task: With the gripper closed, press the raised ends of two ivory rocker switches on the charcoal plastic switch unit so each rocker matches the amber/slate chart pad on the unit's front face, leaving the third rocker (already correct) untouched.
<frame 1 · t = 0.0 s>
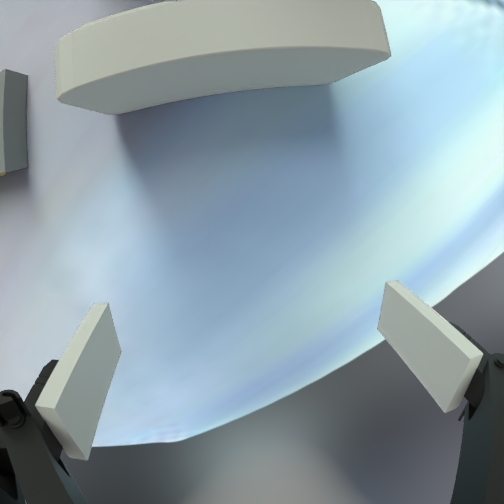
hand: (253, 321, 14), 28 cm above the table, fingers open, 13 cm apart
rounded white slab: (218, 75, 35), on the table
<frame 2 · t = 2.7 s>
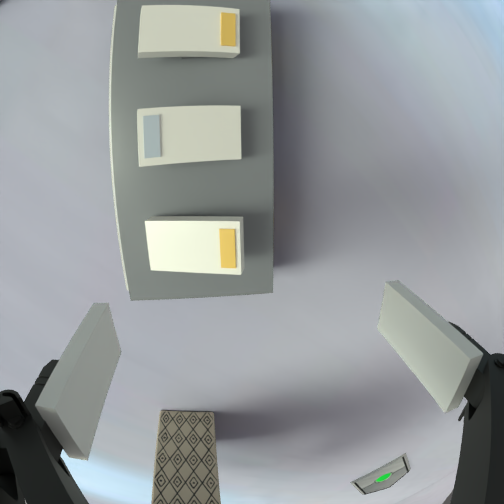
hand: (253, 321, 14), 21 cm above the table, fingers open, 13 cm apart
lamp: (188, 425, 44), on the table
rocker a: (194, 244, 26), point 8 cm above the table, hinge at -15.0°
rocker c: (189, 30, 20), point 8 cm above the table, hinge at 15.0°
rocker b: (189, 134, 23), point 8 cm above the table, hinge at 15.0°
security device: (383, 476, 63), on the table
switch unit: (194, 137, 30), on the table
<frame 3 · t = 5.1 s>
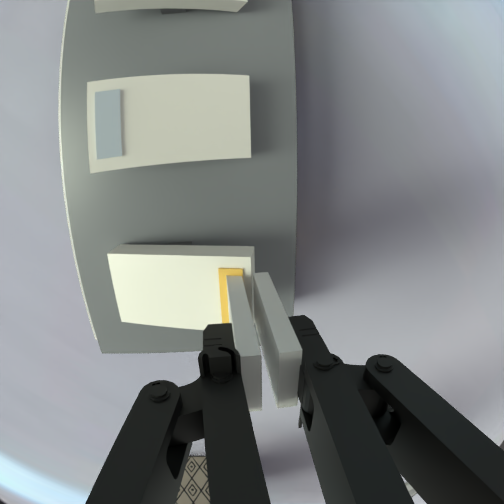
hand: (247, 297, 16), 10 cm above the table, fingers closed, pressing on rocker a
lamp: (186, 468, 35), on the table
rocker a: (181, 288, 17), point 8 cm above the table, hinge at -14.6°, touching gripper
rocker b: (168, 119, 14), point 8 cm above the table, hinge at 15.0°
security device: (395, 496, 55), on the table
switch unit: (181, 128, 21), on the table
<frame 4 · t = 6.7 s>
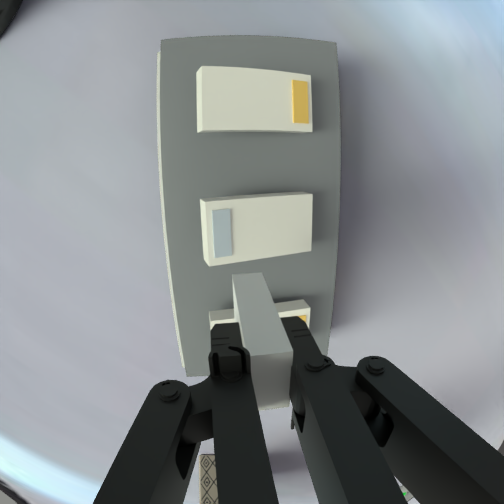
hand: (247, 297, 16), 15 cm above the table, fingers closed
lamp: (225, 465, 43), on the table
rocker a: (260, 333, 25), point 8 cm above the table, hinge at 6.4°
rocker c: (256, 100, 20), point 8 cm above the table, hinge at 15.0°
rocker b: (259, 226, 22), point 8 cm above the table, hinge at 15.0°
security device: (399, 495, 61), on the table
switch unit: (247, 207, 30), on the table
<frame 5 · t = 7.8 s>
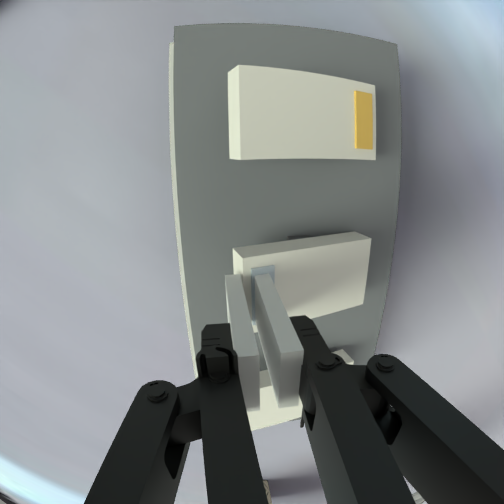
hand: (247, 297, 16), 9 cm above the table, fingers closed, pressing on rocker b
rocker a: (297, 392, 21), point 8 cm above the table, hinge at 11.2°
rocker c: (309, 115, 14), point 8 cm above the table, hinge at 15.0°
rocker b: (306, 280, 18), point 8 cm above the table, hinge at 14.0°, touching gripper
security device: (407, 503, 58), on the table
switch unit: (278, 238, 25), on the table
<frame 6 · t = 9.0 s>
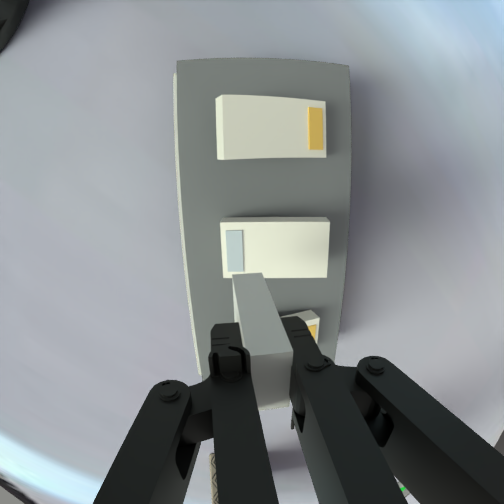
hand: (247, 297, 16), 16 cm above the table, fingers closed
rocker a: (274, 344, 27), point 8 cm above the table, hinge at 12.9°
rocker c: (274, 127, 21), point 8 cm above the table, hinge at 15.0°
rocker b: (275, 247, 24), point 8 cm above the table, hinge at -10.3°
switch unit: (259, 222, 31), on the table
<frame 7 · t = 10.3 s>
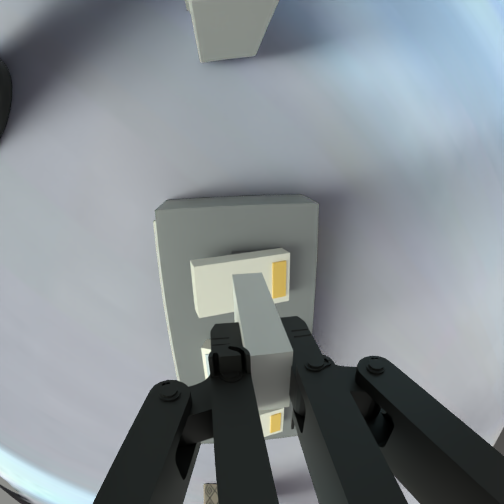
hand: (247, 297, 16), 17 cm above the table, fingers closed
lamp: (224, 491, 49), on the table
rocker a: (248, 425, 31), point 8 cm above the table, hinge at 13.5°
rocker c: (242, 282, 26), point 8 cm above the table, hinge at 15.0°
rocker b: (245, 367, 28), point 8 cm above the table, hinge at -18.8°, touching switch unit
switch unit: (239, 324, 36), on the table
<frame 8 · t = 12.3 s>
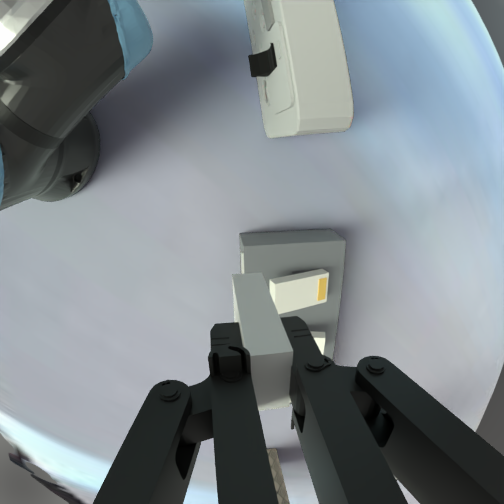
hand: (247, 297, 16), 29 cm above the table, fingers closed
lamp: (257, 457, 65), on the table
rocker c: (299, 291, 41), point 8 cm above the table, hinge at 15.0°
rocker b: (296, 346, 44), point 8 cm above the table, hinge at -17.1°
switch unit: (284, 318, 51), on the table
rounded white slab: (269, 44, 37), on the table
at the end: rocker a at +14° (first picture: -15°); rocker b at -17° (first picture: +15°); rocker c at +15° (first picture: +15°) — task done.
